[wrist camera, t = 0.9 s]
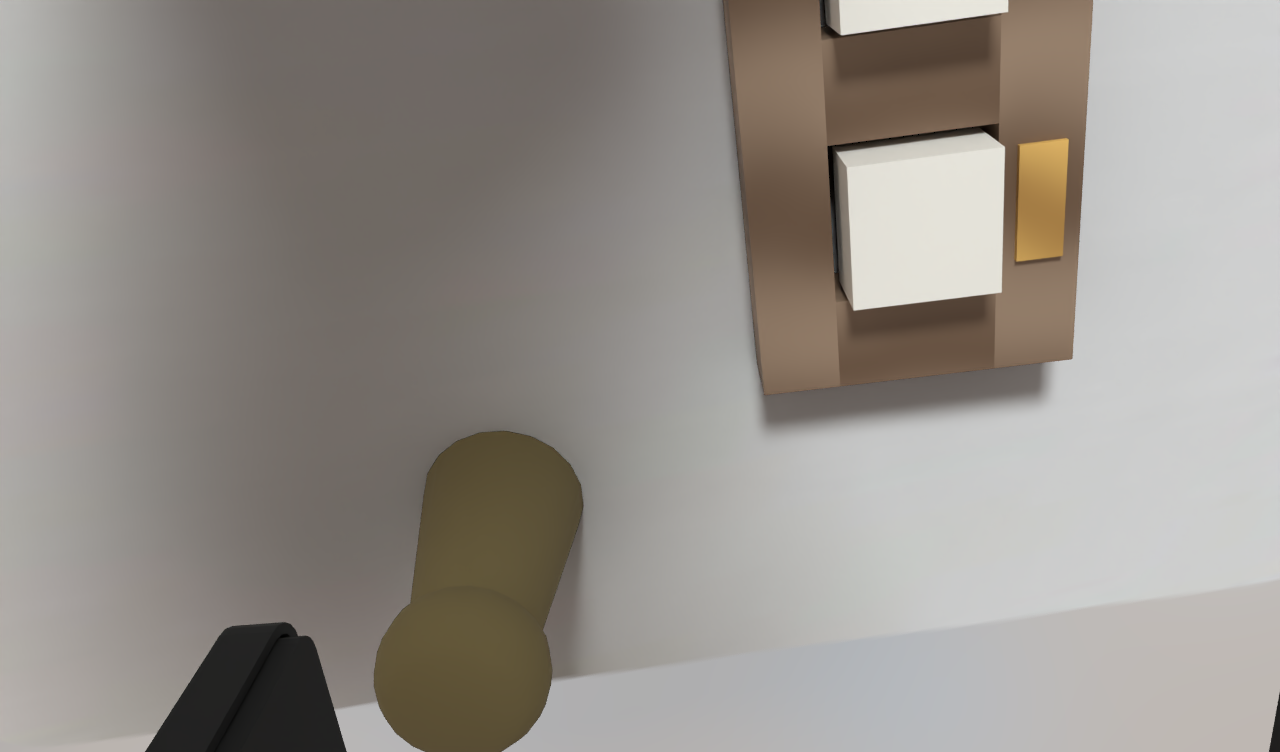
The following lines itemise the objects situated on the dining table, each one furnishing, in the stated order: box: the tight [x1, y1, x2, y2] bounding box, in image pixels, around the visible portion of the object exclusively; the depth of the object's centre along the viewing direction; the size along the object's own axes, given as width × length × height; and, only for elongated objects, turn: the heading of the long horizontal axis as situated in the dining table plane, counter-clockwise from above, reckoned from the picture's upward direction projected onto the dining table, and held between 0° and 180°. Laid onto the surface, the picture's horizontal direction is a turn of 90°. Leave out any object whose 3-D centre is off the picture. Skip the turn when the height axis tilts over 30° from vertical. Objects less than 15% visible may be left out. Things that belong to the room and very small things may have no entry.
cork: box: [374, 431, 583, 752], centre depth 33 cm, size 6×6×11 cm
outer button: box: [832, 127, 1005, 311], centre depth 30 cm, size 4×4×2 cm
